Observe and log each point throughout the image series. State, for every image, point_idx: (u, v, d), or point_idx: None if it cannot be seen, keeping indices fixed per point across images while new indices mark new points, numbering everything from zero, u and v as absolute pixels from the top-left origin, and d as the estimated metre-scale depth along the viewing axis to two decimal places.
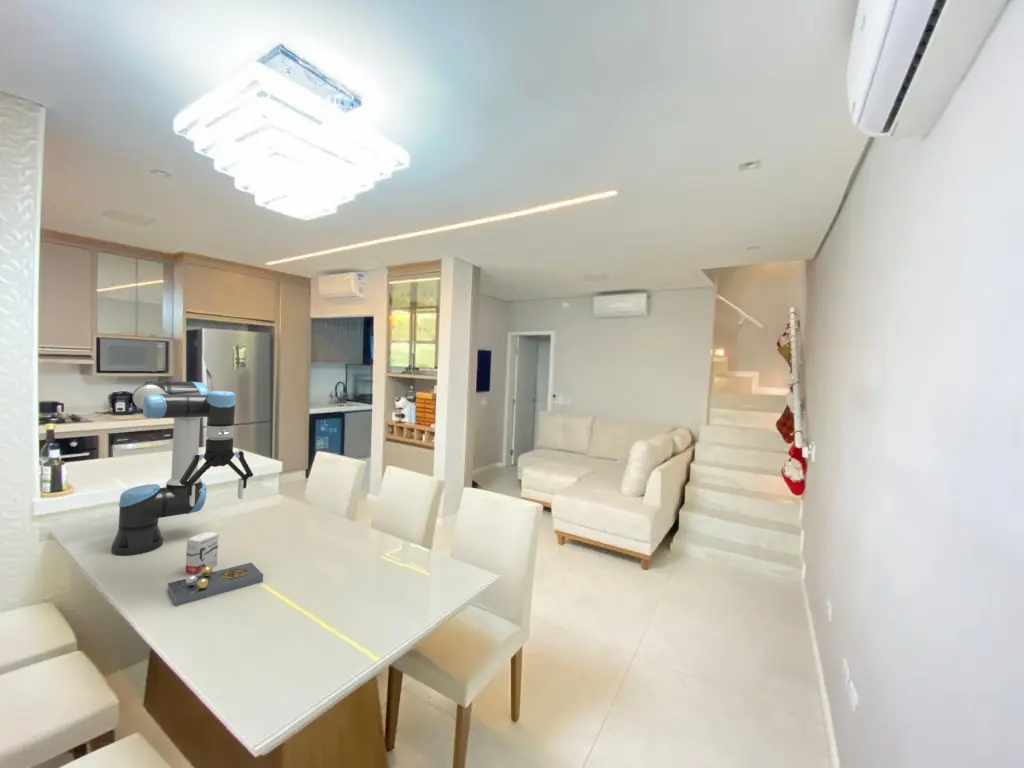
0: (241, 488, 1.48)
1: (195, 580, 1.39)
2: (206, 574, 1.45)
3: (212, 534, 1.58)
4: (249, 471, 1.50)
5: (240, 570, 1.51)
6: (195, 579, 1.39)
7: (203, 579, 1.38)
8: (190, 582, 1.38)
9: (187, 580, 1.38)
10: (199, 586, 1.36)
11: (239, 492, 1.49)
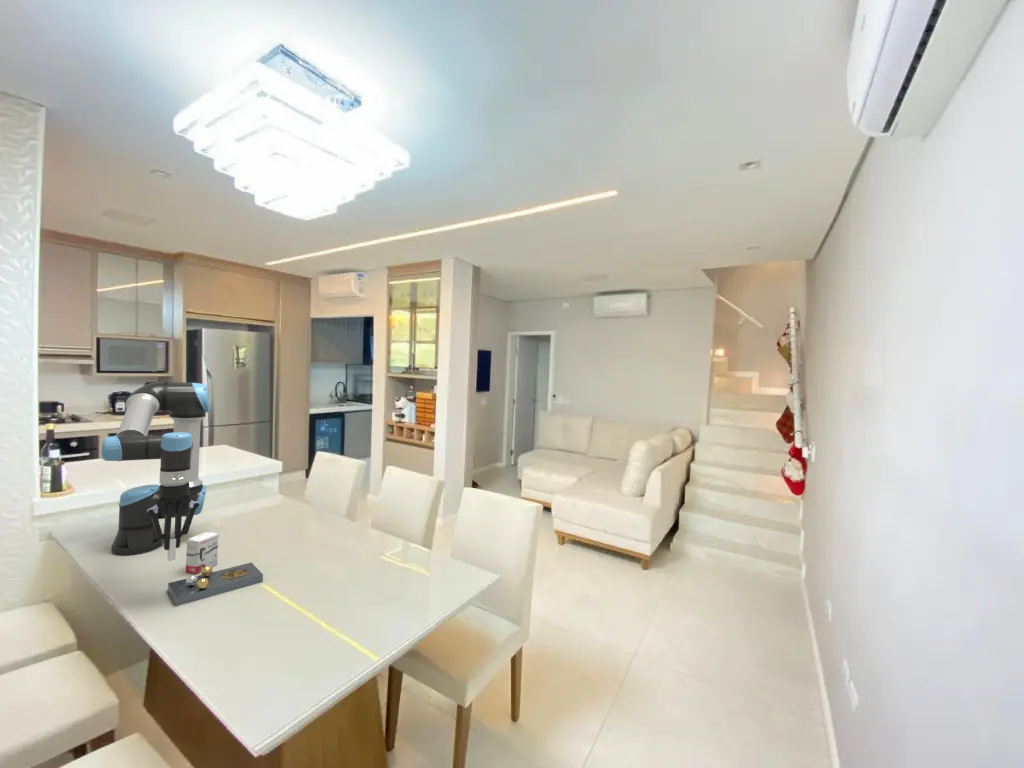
0: (173, 548, 1.34)
1: (195, 580, 1.39)
2: (206, 574, 1.45)
3: (212, 534, 1.58)
4: (187, 527, 1.36)
5: (240, 570, 1.51)
6: (195, 579, 1.39)
7: (203, 579, 1.38)
8: (190, 582, 1.38)
9: (187, 580, 1.38)
10: (199, 586, 1.36)
11: None
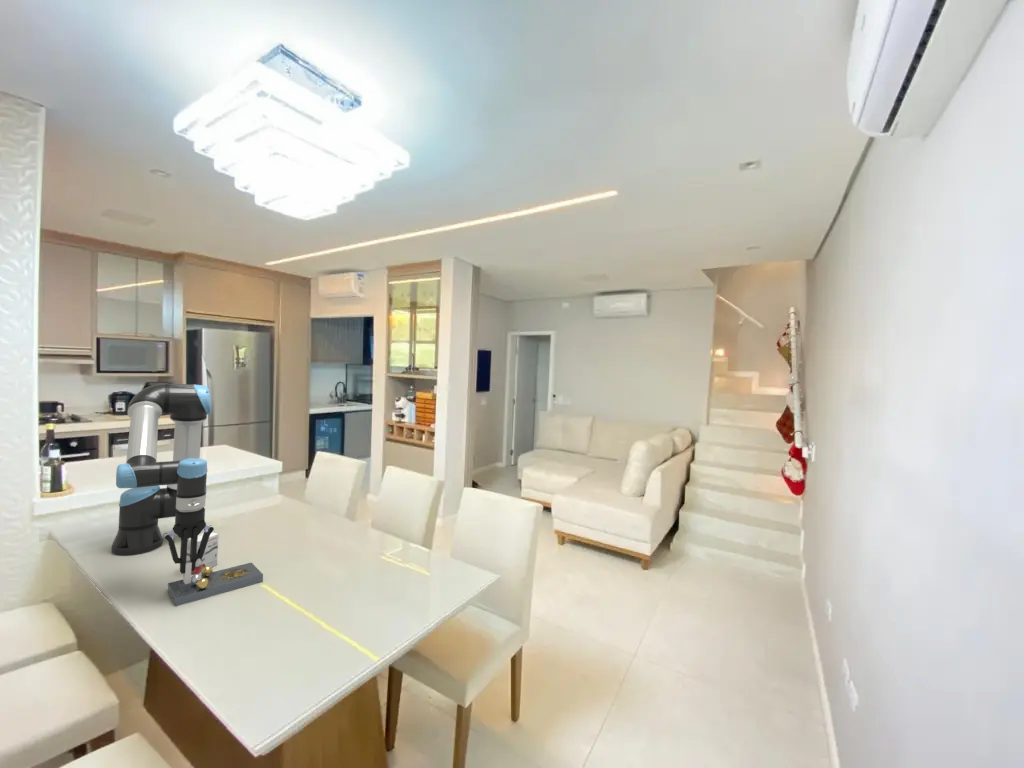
0: (189, 572, 1.37)
1: None
2: (206, 574, 1.45)
3: (212, 534, 1.58)
4: (202, 551, 1.40)
5: (240, 570, 1.51)
6: None
7: (203, 579, 1.38)
8: (195, 580, 1.39)
9: (193, 577, 1.39)
10: (199, 586, 1.36)
11: None
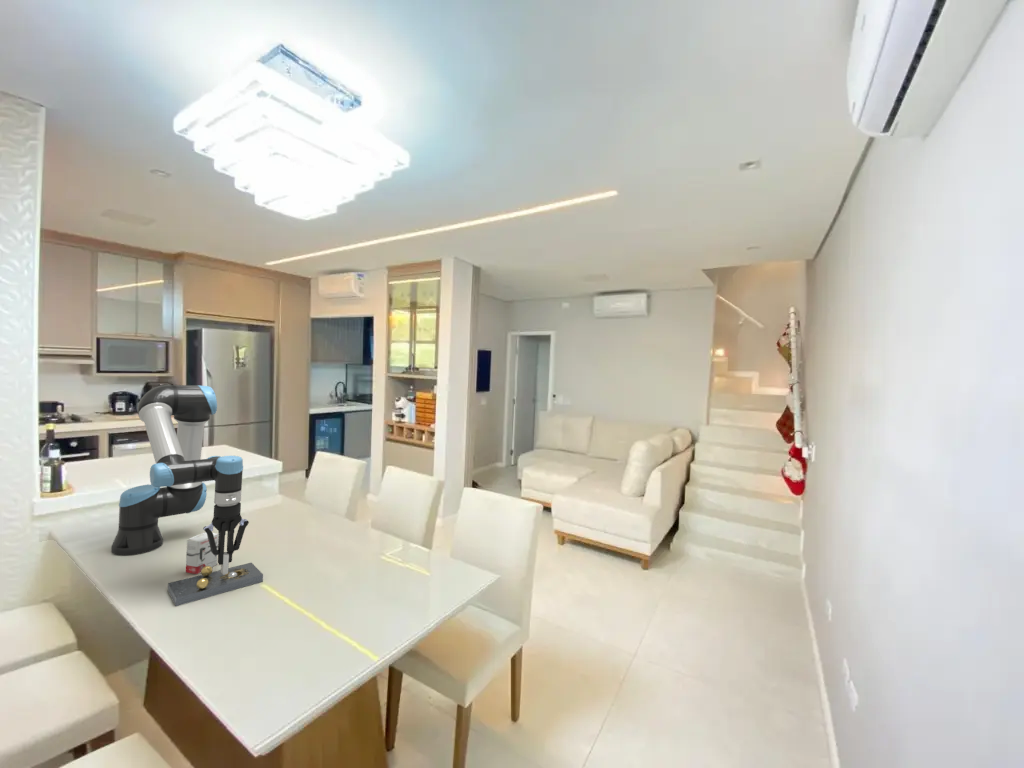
0: (226, 563, 1.45)
1: None
2: (206, 574, 1.45)
3: None
4: (238, 544, 1.47)
5: (240, 570, 1.51)
6: (236, 576, 1.48)
7: (203, 579, 1.38)
8: (231, 576, 1.47)
9: (230, 573, 1.47)
10: (199, 586, 1.36)
11: None
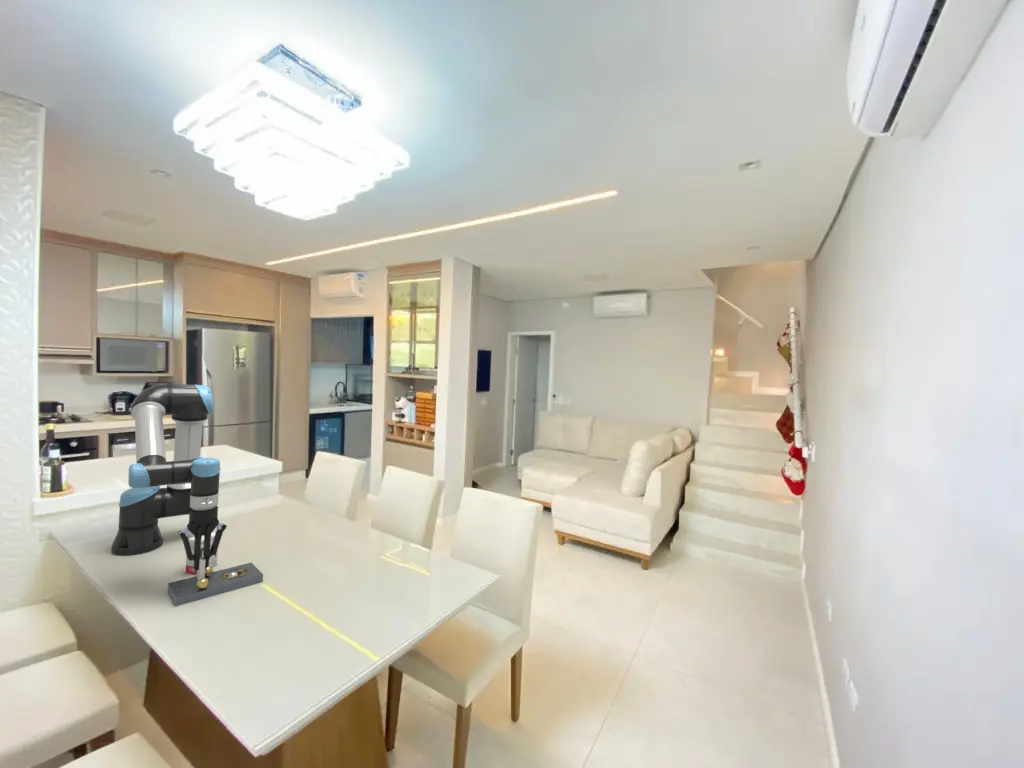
0: (203, 568, 1.40)
1: None
2: (206, 574, 1.45)
3: (212, 534, 1.58)
4: (215, 548, 1.43)
5: (240, 570, 1.51)
6: (236, 576, 1.48)
7: (203, 579, 1.38)
8: (232, 576, 1.47)
9: (231, 573, 1.47)
10: (199, 586, 1.36)
11: None
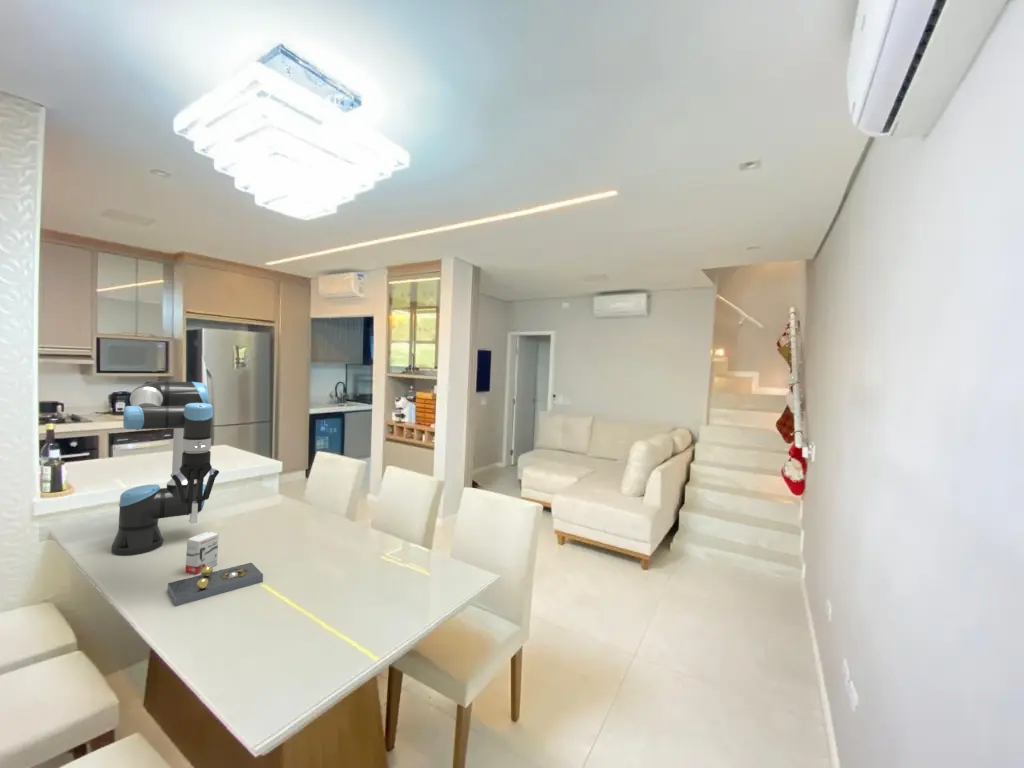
0: (195, 512, 1.42)
1: None
2: (206, 574, 1.45)
3: (212, 534, 1.58)
4: (208, 493, 1.44)
5: (240, 570, 1.51)
6: None
7: (203, 579, 1.38)
8: (233, 576, 1.47)
9: (232, 573, 1.48)
10: (199, 586, 1.36)
11: None
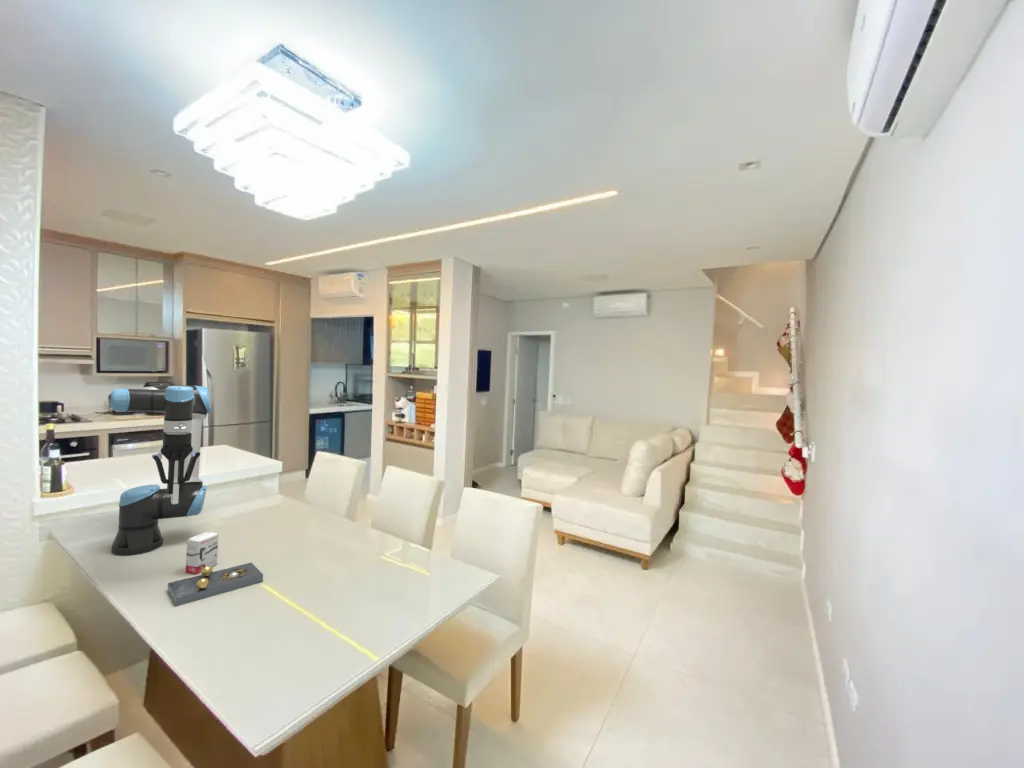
0: (176, 492, 1.44)
1: None
2: (206, 574, 1.45)
3: (212, 534, 1.58)
4: (189, 474, 1.47)
5: (240, 570, 1.51)
6: None
7: (203, 579, 1.38)
8: (234, 576, 1.47)
9: (232, 573, 1.48)
10: (199, 586, 1.36)
11: None
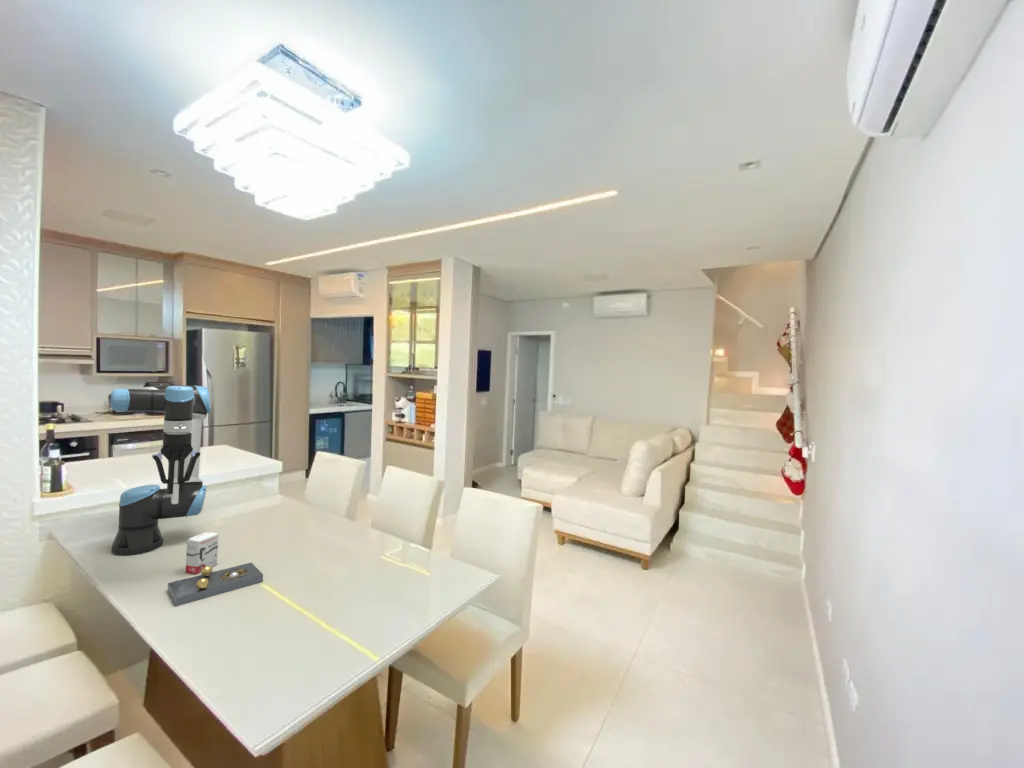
0: (176, 492, 1.44)
1: None
2: (206, 574, 1.45)
3: (212, 534, 1.58)
4: (189, 474, 1.47)
5: (240, 570, 1.51)
6: None
7: (203, 579, 1.38)
8: (234, 576, 1.47)
9: (233, 573, 1.48)
10: (199, 586, 1.36)
11: None
